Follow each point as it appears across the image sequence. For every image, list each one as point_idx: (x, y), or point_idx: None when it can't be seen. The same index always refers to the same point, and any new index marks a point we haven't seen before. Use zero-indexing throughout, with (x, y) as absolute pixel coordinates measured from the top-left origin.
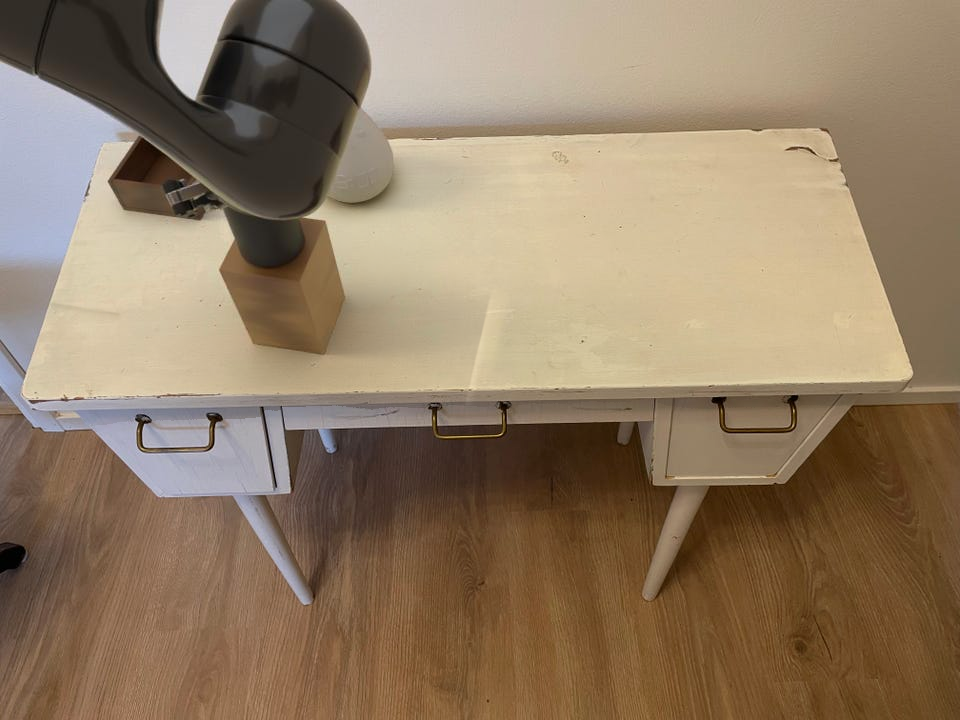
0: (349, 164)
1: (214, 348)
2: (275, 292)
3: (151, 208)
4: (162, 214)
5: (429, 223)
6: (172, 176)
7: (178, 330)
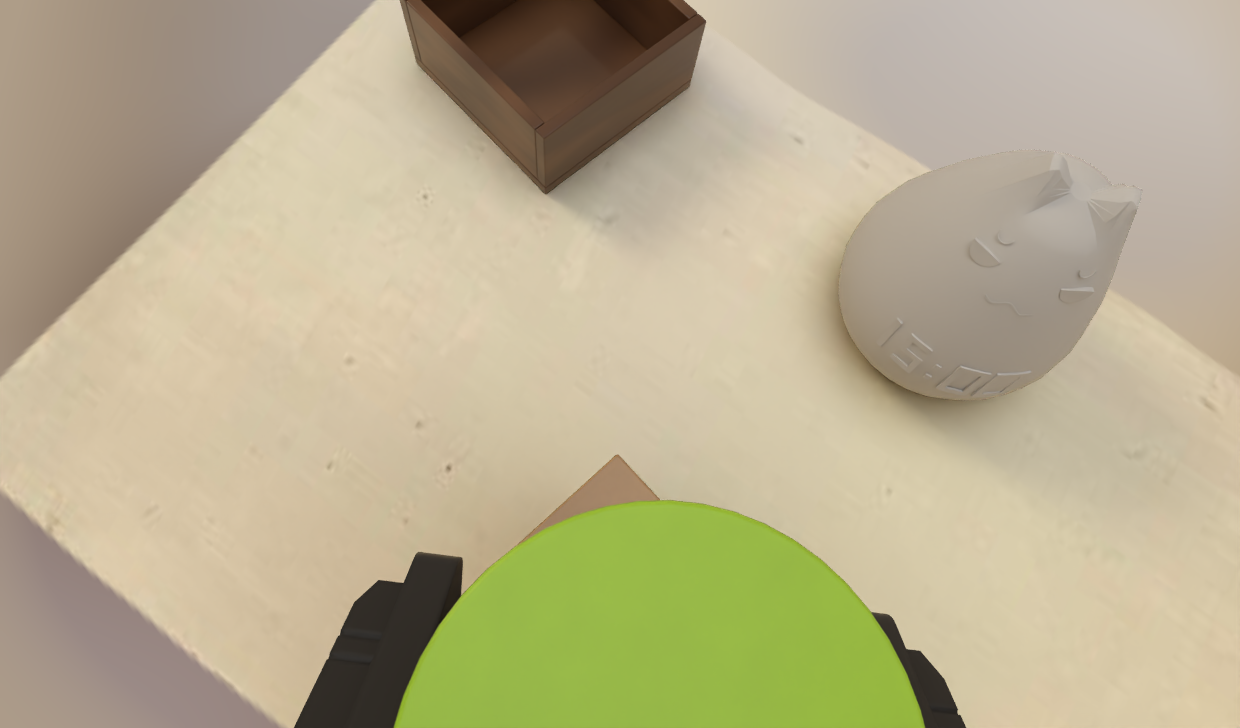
0: (969, 339)
1: (364, 590)
2: None
3: (465, 103)
4: (481, 127)
5: (1031, 553)
6: (555, 44)
7: (324, 477)
